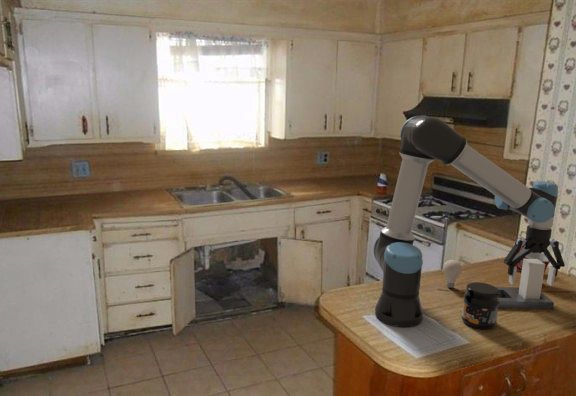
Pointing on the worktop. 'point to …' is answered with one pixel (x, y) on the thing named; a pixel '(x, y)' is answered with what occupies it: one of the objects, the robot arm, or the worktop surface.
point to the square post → (531, 278)
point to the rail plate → (522, 300)
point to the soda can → (519, 265)
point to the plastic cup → (537, 256)
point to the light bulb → (451, 272)
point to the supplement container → (480, 305)
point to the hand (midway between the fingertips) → (530, 284)
